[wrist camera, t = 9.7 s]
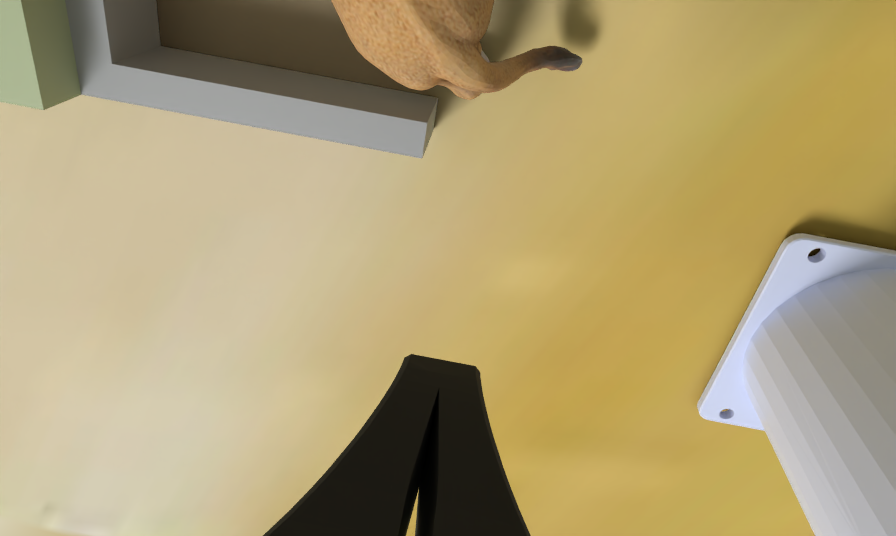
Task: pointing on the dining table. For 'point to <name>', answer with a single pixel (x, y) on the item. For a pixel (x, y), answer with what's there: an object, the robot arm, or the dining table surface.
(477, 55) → the lion figurine
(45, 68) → the l-rail base plate
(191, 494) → the dining table surface
